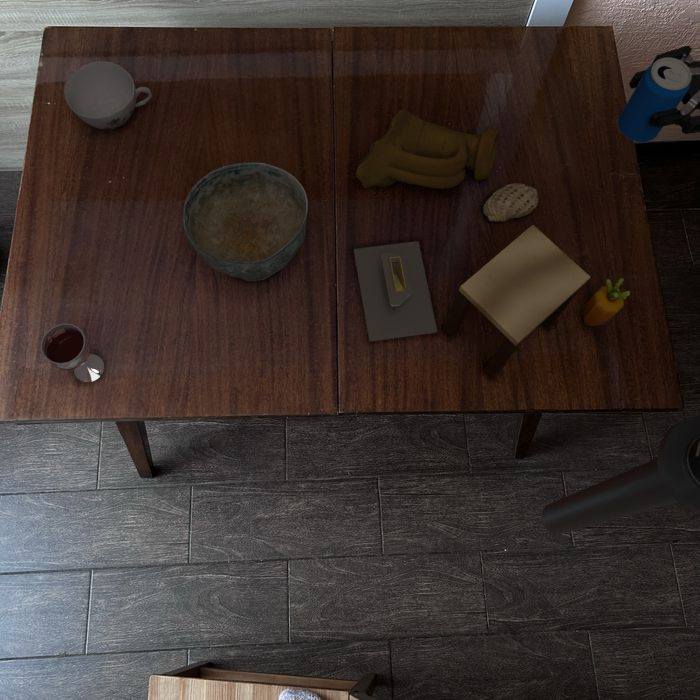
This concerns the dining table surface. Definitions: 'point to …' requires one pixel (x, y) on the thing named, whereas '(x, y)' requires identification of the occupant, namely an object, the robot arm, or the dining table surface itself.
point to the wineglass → (71, 352)
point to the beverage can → (654, 98)
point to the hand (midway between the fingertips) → (641, 101)
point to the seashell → (510, 202)
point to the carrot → (604, 304)
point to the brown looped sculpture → (426, 155)
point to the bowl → (246, 219)
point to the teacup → (103, 94)
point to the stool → (519, 292)
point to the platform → (394, 291)
